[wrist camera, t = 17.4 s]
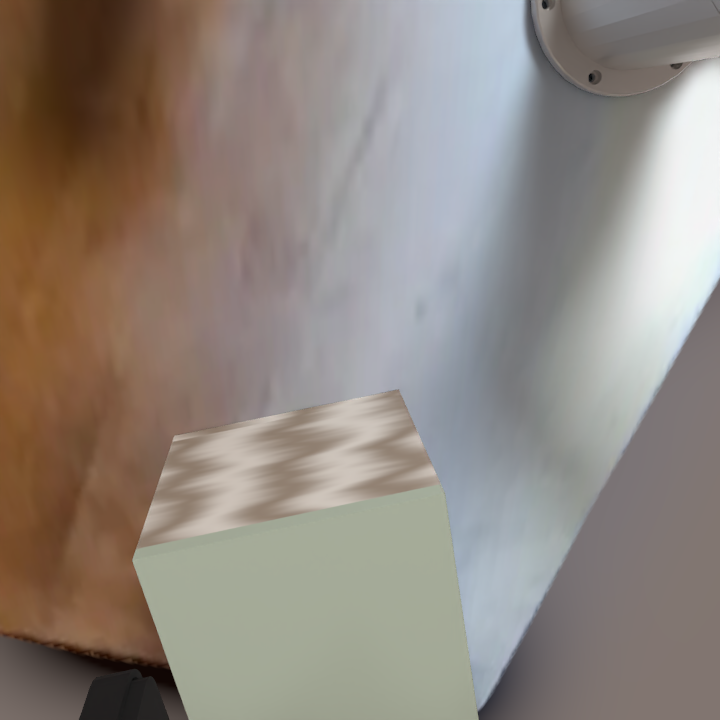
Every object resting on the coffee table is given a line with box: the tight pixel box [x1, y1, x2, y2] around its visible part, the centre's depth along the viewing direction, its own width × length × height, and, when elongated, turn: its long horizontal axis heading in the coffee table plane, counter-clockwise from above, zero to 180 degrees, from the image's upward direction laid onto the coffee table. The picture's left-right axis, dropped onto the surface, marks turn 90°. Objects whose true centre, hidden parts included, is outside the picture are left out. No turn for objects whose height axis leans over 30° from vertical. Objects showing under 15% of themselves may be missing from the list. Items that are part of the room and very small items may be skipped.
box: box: [136, 390, 440, 549], centre depth 46 cm, size 17×17×14 cm
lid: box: [132, 484, 478, 720], centre depth 39 cm, size 17×17×1 cm
